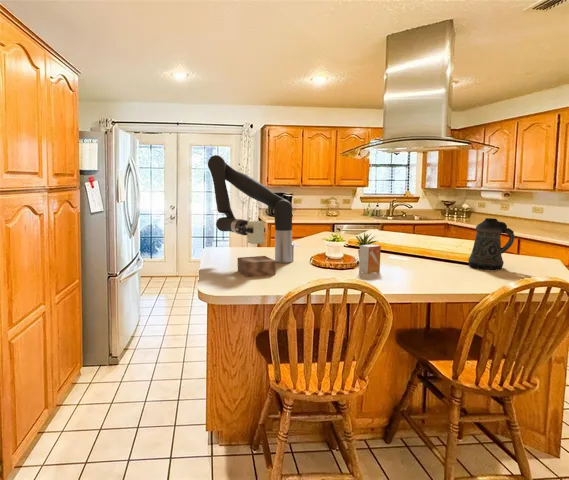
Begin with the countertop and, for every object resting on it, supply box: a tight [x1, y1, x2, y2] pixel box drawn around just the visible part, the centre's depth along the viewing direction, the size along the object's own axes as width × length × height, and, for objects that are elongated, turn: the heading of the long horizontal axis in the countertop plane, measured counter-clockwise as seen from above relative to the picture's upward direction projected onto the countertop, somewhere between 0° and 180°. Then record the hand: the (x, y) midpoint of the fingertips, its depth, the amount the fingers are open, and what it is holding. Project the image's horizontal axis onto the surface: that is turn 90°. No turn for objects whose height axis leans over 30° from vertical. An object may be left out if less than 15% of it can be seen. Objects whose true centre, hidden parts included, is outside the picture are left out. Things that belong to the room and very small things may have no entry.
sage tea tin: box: [247, 220, 265, 245], centre depth 213 cm, size 6×6×10 cm
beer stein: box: [467, 217, 516, 271], centre depth 229 cm, size 16×19×25 cm
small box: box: [358, 243, 382, 275], centre depth 218 cm, size 8×6×13 cm
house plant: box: [354, 232, 378, 260], centre depth 242 cm, size 14×14×16 cm
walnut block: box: [237, 255, 276, 278], centre depth 215 cm, size 14×14×7 cm
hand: (258, 230), depth 211 cm, fingers closed on sage tea tin, 5 cm apart
